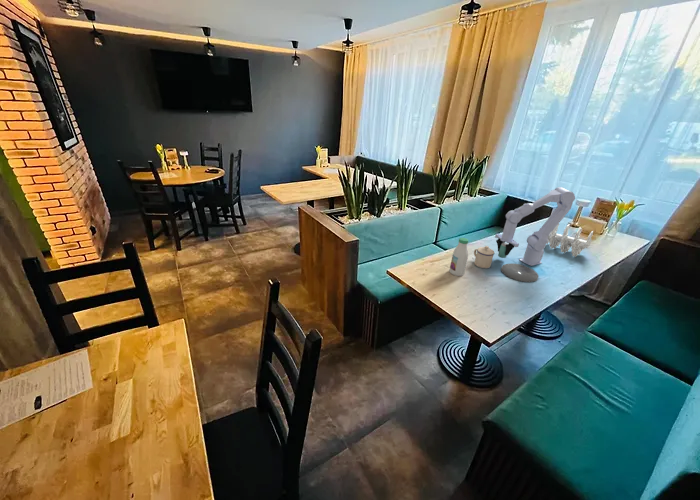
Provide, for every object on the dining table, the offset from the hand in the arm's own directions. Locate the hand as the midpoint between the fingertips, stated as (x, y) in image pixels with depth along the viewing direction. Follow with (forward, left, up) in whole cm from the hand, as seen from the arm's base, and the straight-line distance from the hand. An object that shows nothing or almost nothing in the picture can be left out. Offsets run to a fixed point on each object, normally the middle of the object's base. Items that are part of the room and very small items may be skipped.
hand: (502, 253), depth 170 cm
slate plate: (+3, +15, -5) cm, 16 cm away
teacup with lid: (+15, -1, -5) cm, 16 cm away
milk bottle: (+35, +2, -5) cm, 35 cm away
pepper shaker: (0, 0, -2) cm, 2 cm away
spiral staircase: (-46, +5, -5) cm, 46 cm away
